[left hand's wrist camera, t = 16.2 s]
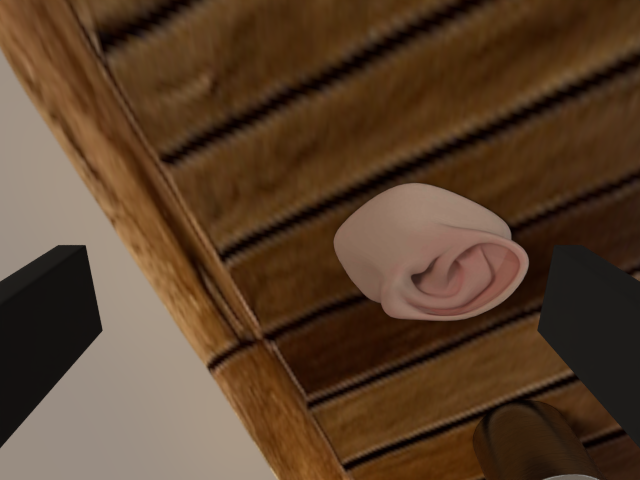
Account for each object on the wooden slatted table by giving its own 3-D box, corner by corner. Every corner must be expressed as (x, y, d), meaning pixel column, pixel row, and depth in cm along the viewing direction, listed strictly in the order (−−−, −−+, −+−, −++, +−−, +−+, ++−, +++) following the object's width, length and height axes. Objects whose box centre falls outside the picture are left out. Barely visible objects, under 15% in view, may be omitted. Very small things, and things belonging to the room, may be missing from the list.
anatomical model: (311, 285, 32) (406, 155, 29) (313, 263, 36) (397, 146, 32) (451, 368, 35) (554, 258, 31) (439, 339, 38) (530, 238, 35)
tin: (572, 397, 41) (629, 472, 33) (561, 469, 44) (611, 552, 36) (474, 402, 41) (508, 477, 33) (470, 473, 44) (500, 557, 36)
